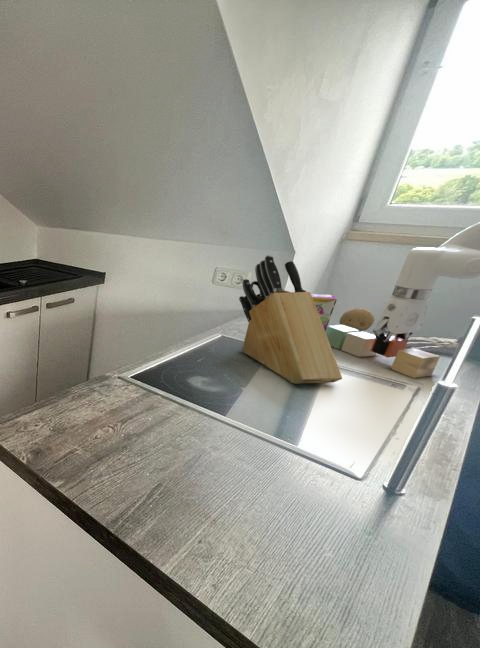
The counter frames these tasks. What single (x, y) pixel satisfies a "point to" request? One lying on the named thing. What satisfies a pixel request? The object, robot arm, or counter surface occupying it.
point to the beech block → (415, 363)
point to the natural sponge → (357, 319)
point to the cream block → (359, 344)
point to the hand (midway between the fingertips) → (386, 351)
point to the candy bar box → (324, 307)
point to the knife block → (286, 328)
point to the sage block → (338, 334)
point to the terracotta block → (393, 346)
